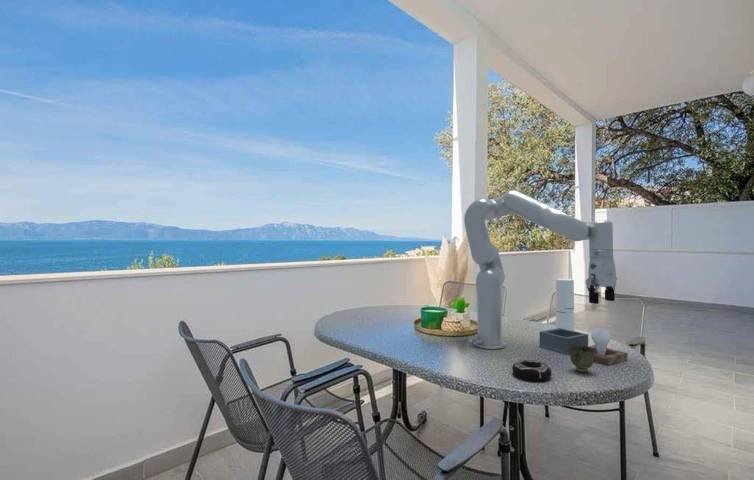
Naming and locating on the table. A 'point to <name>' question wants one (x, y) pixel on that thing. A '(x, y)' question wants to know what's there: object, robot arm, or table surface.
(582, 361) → the cup
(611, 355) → the socket block
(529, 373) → the donut
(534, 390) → the table surface
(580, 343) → the grey open box
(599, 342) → the lightbulb
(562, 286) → the cylindrical container
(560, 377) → the table surface
